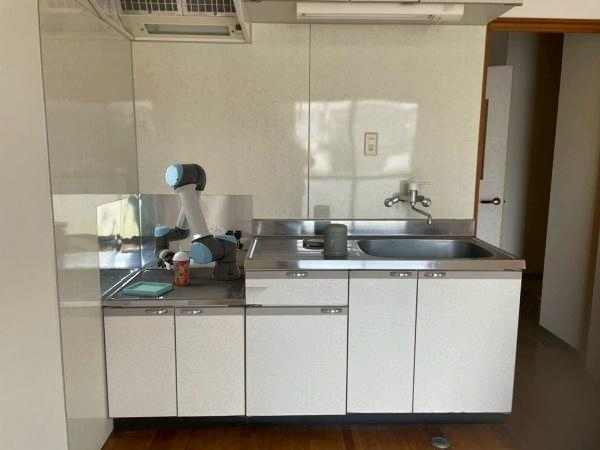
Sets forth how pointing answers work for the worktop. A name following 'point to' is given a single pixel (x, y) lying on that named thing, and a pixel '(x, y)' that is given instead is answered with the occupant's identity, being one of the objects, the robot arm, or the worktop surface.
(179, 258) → the smoothie
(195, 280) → the worktop surface
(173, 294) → the worktop surface
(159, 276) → the worktop surface
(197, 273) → the worktop surface
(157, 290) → the tray
